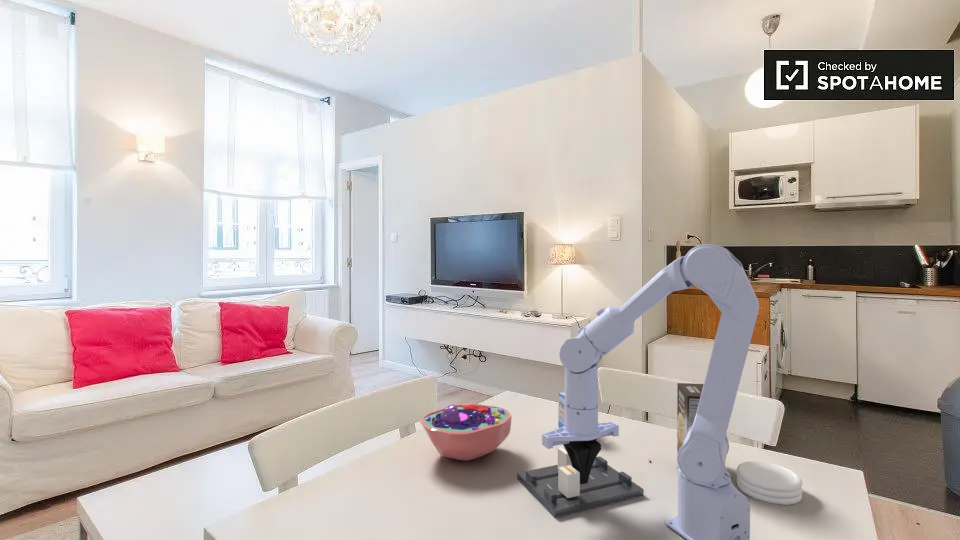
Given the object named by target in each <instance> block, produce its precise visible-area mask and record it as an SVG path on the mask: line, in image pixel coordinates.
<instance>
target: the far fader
mask: <svg viewBox="0 0 960 540" xmlns="http://www.w3.org/2000/svg"><path fill="white" fill-rule="evenodd" d="M557 465H558V467H563V466H568V465H571V466H572V464H571V461H570V458H569V456H568V453H567V451H566V449H565V447H564V446H561V447H558V448H557Z"/></svg>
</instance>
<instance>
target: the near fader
mask: <svg viewBox="0 0 960 540" xmlns="http://www.w3.org/2000/svg"><path fill="white" fill-rule="evenodd" d="M558 490H559V491H560V492H561V493H562V494H563V495H565V496H566V497H567V498H571V497H575V496H580V472H578V471H577V470H576V469H575V468H573V467H572V466H571V465H568V466H563V467H558Z"/></svg>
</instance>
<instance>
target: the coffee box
mask: <svg viewBox="0 0 960 540" xmlns="http://www.w3.org/2000/svg"><path fill="white" fill-rule="evenodd" d="M703 385H704V383H689V382H688V383H687V382H685V383H684V382H681V383H680V382H678V383H677V388H676V389H677V390H676V391H677V396H676V397H677V399H676V400H677V401H676V402H677V403H676V404H677V405H676V406H677V408H676V409H677V411H676V414H677V417H676V419H677V420H676V421H677V422H676V424H677V425H676V426H677V427H676V429H677V430H676V434H677V435H676V439H677V440H676V453H677V455H678V451H679V449H680V448H681V447H682V445H683V443H684V440H685V436H686V433H687V431H688V429H689V428H690V427H691V426H692V425H693V423H694V419H695V416H696V413H697V409H698V405H699V401H700V397H701V393H702V389H703ZM677 455H676V456H677Z"/></svg>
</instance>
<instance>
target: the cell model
mask: <svg viewBox="0 0 960 540" xmlns="http://www.w3.org/2000/svg"><path fill="white" fill-rule="evenodd" d="M419 423H420V425H421V426H422V427H423V430H424V431H425V432H426V434H427V437H428V438H429V440H430V442H431V444H432V445H433V446H434V447H435V449H436V451H437V453H438V454H439V455H440V456H442V457H444V458H449V459H454V460H456V461H457V460H458V461H467V462H468V461H471V460H475V459H478V458H481V457H483V456H486V455H487V454H490V453H492V452H494V451H495V449H497V448H498V447H499V446H501V444H503V443H504V442H505V440H506V439H507V438H508V436H509V435H510V433H511V427H512V414H511V412H509V411H508V410H507V409H505V408H502V407H497V406H493V405H492V406H491V405H484V404H480V403H479V404H478V403H465V404H464V403H462V404H460V403H458V404H454V403H452V404H449V405H447V406H446V407H442V408H440V409H437V410H434V411H430V412H429V413H427V414H425V415H424V416H422V417H421V419H420V421H419Z"/></svg>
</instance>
